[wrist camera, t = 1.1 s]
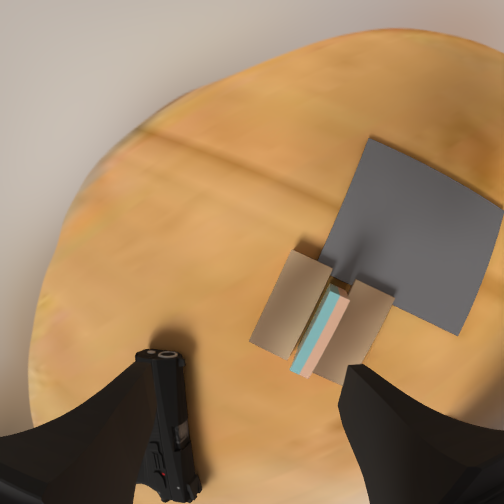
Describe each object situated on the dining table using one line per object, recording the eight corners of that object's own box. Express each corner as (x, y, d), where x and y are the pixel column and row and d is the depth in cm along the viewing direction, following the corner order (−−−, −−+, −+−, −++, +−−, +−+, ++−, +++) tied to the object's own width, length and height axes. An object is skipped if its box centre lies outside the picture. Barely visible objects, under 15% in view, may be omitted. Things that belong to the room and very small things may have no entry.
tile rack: (392, 296, 20) (395, 298, 19) (346, 382, 20) (346, 387, 19) (293, 249, 21) (291, 249, 21) (252, 337, 22) (248, 341, 21)
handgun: (88, 333, 27) (194, 350, 24) (113, 469, 27) (207, 501, 23) (64, 339, 24) (173, 362, 21) (96, 482, 23) (193, 520, 20)
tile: (345, 290, 21) (350, 300, 16) (313, 352, 21) (308, 379, 16) (329, 282, 21) (330, 290, 16) (298, 345, 21) (289, 370, 17)
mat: (501, 211, 18) (504, 210, 17) (455, 335, 18) (457, 336, 18) (368, 139, 20) (368, 138, 20) (314, 267, 21) (314, 267, 21)
